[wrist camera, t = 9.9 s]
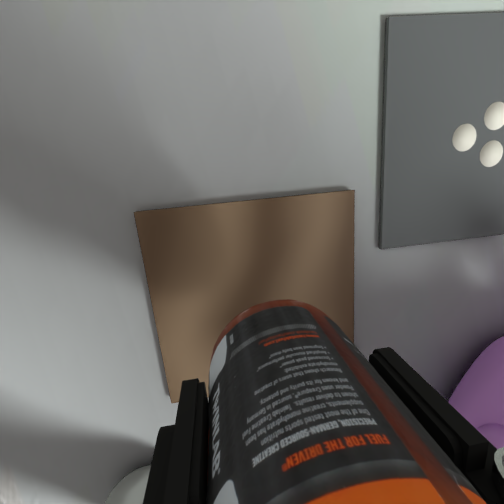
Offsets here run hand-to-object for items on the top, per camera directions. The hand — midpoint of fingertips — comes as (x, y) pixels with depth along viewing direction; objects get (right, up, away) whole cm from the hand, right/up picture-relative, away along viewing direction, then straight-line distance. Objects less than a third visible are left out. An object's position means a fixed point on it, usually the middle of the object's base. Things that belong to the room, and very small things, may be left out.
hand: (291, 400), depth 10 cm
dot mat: (+13, +13, +8) cm, 20 cm away
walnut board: (-1, +2, +8) cm, 9 cm away
